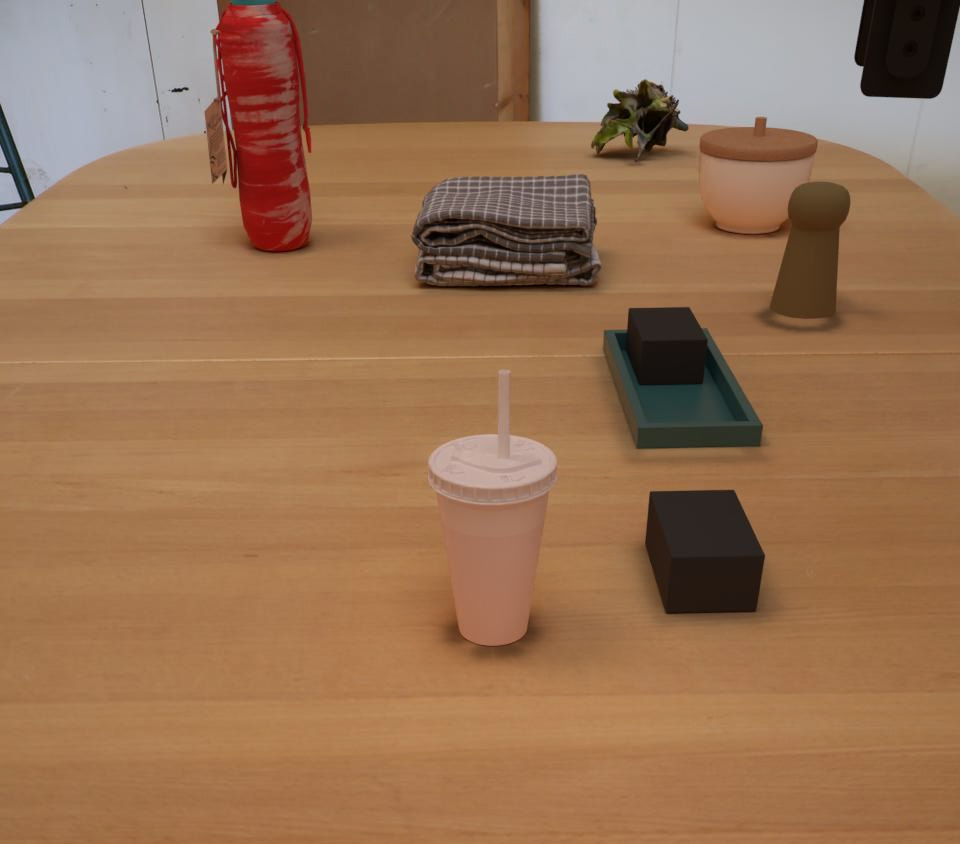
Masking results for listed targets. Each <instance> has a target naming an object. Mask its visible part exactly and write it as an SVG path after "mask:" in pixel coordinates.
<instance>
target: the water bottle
mask: <svg viewBox="0 0 960 844" xmlns="http://www.w3.org/2000/svg"><path fill="white" fill-rule="evenodd" d="M230 1H231V2H230V3H228V4H227V5H226V9H224V10H223V11H222V13H221V15H220V20H219V22H218V24H217V25H216V27H215V28H213V29H211V30H210V32H209V33H210V34H212V36H211V37H212V52H213V53H212V54H213V63H214V65H213V66H214V75H215V84H216V85H215V86H216V93H217V96H216V97H215V98H213V101H212V102H211V103H209V105H208V106H207V108H206V109H205V110H204V113H203V114H204V121H205V130H206V131H205V132H206V140H207V146H208V147H207V148H208V157H209V166H210V177H211V184H212V185H213V184H214V183H216V181H217V180H218V179H220V177H221V178H222V179H221V180H222V185H224V183H225V180H226V176H227V172H228V166H229V177H230V184H231V187H232V189H235V190H236V189H237V187H238V197H239V200H238V201H239V206H240V213H241V219H242V226H243V227H244V230H245V233H246V234H247V236H248V239H249V241H250V243H251V244H252V245H253V246H254V248H255V247H256V248H257V249H259V250H261V251H263V252H264V251H265V252H272V253H276V252H289V251H294V250H298V249H300V248H302V247H304V246H305V245H307V243H308V241H309V238H310V237H309V236H310V232H311V227H312V225H313V212H312V198H311V189H310V183H309V176H308V171H307V170H308V169H307V163H306V159H305V157H306V156H305V151H304V145H303V135H302V130H303V131H304V133H305V134H304V135H305V141H306V147H307V152H308V154H311V153H312V135H311V128H310V127H309V123H308V120H309V119H308V118H309V109H308V107H309V106H308V95H307V83H306V82H307V80H306V74H305V67H304V60H303V52H302V44H301V39H300V36H299V33H298V29H297V26H296V23H295V21H294V18H293V17H292V16H291V14H290V13H289V12H288V11H287V10H286V9H284V8H283V7H282V5H281V3H280V2H279V1H276V0H230ZM300 88H301V89H300ZM300 90H301V93H300ZM300 94H301V95H300ZM300 96H301V97H302V107H303V123H302V124H301V103H300V102H301V101H300V100H301V99H300V98H301V97H300ZM226 97H227V99H226ZM227 102H228V106H229V112H230V116H231V120H232V127H233V134H234V138H233V135H232V132H231V129H230V126H229V118H228V117H229V116H228V108H227ZM224 127H225V132H224ZM225 135H226V142H225ZM226 144H227V150H226ZM232 153H233V154H232ZM227 155H228V159H227ZM232 156H233V157H232ZM228 164H229V165H228Z"/></svg>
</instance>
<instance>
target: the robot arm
mask: <svg viewBox="0 0 960 844" xmlns="http://www.w3.org/2000/svg"><path fill="white" fill-rule="evenodd" d="M959 13H960V0H863V2H862V9H861V15H860V21H859V27H858V33H857V38H856V44H855V50H854V54H853V55H854V56H853V59H854V63H855V64H856V65H857V66H859V67H862V73H861V78H860V83H859V87H860V92H861V94H862V95H863V96H865V97H868V98H892V99H893V98H895V99H922V100H924V99H925V100H931V99H935V98H937V97H938V96H939V95H940V94H941V92H942V90H943V86H944V83H945V77H946V73H947V68H948V63H949V60H950V54H951V50H952V45H953V40H954V36H955V31H956V27H957V23H958V18H959Z"/></svg>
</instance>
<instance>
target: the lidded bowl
mask: <svg viewBox="0 0 960 844" xmlns="http://www.w3.org/2000/svg"><path fill="white" fill-rule="evenodd" d="M767 120H768V117H766V116H755V120H754V126H741V127H740V126H739V127H738V126H737V127H725V128H719V129H714V130H710V131H707V132H704V133H703V134H702V135H701V136H700V138H699V160H698V162H699V163H698V184H699V185H698V186H699V193H700V198H701V201H702V203H703V205H704V208H705V210H706V211H707V213H708V214H709V216H710V217H711V218H712V219H713V220H714V221H715V227H716V228H718V229H720V230H722V231H726V232H730V233H734V234H745V235H759V234H761V235H762V234H769V233H774V232H777V231H778V230H779V229H780V228H781V224H783V223H784V222H785V221H787V220H788V219H789V217H788V202H789V199H790V197H791V194H792V192H793V191H794V189H795V188H796V187H798V186H799V185H801V184H804V183H809V182H810V179H811V176H812V172H813V166H814V160H815V156H816V155H815V154H816V153H817V150H818V143H819V141H818V138H817V137H816V136H814V135H812V134H810V133H808V132H803V131H800V130H794V129H789V128H779V127H767Z"/></svg>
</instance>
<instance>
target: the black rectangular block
mask: <svg viewBox="0 0 960 844" xmlns="http://www.w3.org/2000/svg"><path fill="white" fill-rule="evenodd" d="M741 503H742V502H741V501H740V499H739V497H738V495H737V492H736V490H735V489H699V490H650V491H649V495H648V505H647V506H648V507H647V517H646V518H647V519H646V529H645V538H644V540H645V541H644V544H645V547H646V551H647V554H648V558H649V562H650V564H651V567H652V571H653V575H654V578H655V581H656V584H657V585H656V586H657V588H658V592H659V594H660V598H661V601H662V604H663V605H662V606H663V609H664V611H665V614H679V613H680V614H681V613H682V614H683V613H684V614H685V613H686V614H687V613H721V612H722V613H728V612H732V613H733V612H735V613H737V612H756V611H757V608H758V602H759V596H760V589H761V585H762V577H763V572H764V571H763V570H764V564H765V559H766V554H765V551H764V550H763V548H762V546H761V543H760V542H759V539H758V537H757V535H756V533H755V532H754V529H753V527H752V525H751V522H750V520H749V518H748V516H747V514H746V511H745V509H744V508H743V506H742V504H741Z"/></svg>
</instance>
